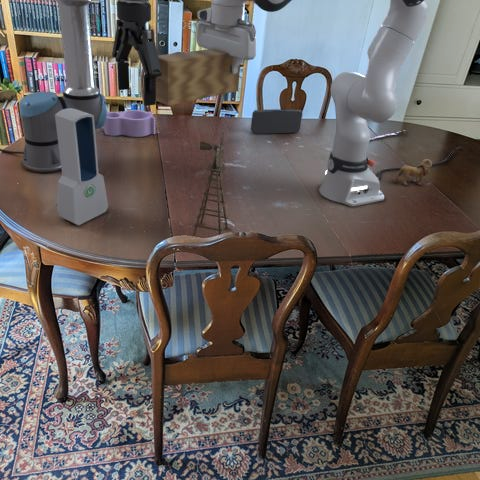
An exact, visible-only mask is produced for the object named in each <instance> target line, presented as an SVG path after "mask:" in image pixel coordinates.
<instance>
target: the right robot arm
mask: <svg viewBox="0 0 480 480" xmlns="http://www.w3.org/2000/svg"><path fill="white" fill-rule="evenodd" d="M292 1H293V0H211V2H210V3H211V4H210V6H211V7H208V8H203V9H200V10H198V11H197V19H198V21H197V24H196V35H195V36H196V39H195V40H196V44H197V46H198V47H199V48H203V49H205V50H208V49H216V50H219V51H223V52H226V53H229V55H230V56H233V61H234V63H233V65H232V66H230V73H233V74H236V73H237V72H238V66H239V65H240V66H241V63H242V62H243V61H251V60H254V59H255V58H256V56H257V27H255V25H254V24H253V22H251V21H247V20H245V7H246V2H252V3H253V4H254V5H256V6H257V7H259V8H260V9H261V10H262V11H264V12H268V13H275V12H278V11H281V10H283V8H285V7H286V6H288V4H290V2H292ZM429 12H430V8H429V4H428V2H427V0H389V8H388V12H387V14H386V16H385V18H384V20H383V21H382V23H381V25H380V26H379V28H378V30H377V32H376V34H375V36H374V37H373V39H372V40H371V43H370V45H368V48H367V51H366V57H367V60H368V66H367V70H366V73H365V76H364V75H362V74H360V73H359V72H351V71H344V72H341V73H339V74H337V75H336V76H335V78H334V79H333V81H332V82H331V85H330V95H331V98H332V100H333V103H334V110H335V134H334V140H333V145H332V150H331V151H330V153H329V157H328V161H327V170H325V173H324V175H325V176H324V178H323V181H322V183H321V185H320V187H319V188H318V191H319V193H320V195H321V196H323V198H326V199H327V200H330V201H332V202H336V203H340V204H343V205H346V206H349V207H357V206H363V205H368V204H373V203H378V202H382V201H384V200H385V195H384V193H383V191H382V190H380V186H381V183H380V178H381V174H382V173H384V172H389V171H390V172H391V171H399V170H400V169H401V168H402V167H403V166H400V167H399V166H398V167H389V168H383V169H381V170H379V171H378V173H377V175H375V173H374V172H373V170H372V169H370V168H373V167H374V166H375V165H376V162H375V161H374V160H373V159H369V157H368V156H367V153H368V149H369V145H370V142H371V141H370V138H372V137H371V131H370V129H369V126H368V122H371V123H376V124H383V123H385V122H387V121H388V120H389V119H391V118H392V117H393V115H394V114H395V113H396V110H397V107H398V97H397V93H396V90H397V89H396V88H397V87H396V85H397V81H398V77H399V74H400V71H401V68H402V66H403V64H404V62H405V61H406V59H407V57H408V55H409V53H410V52H411V50H412V48H413V46H414V45H415V43H416V42H417V39H418V38H419V35H420V34H421V32H422V30H423V28H424V25H425V22H426V21H427V18H428V15H429ZM459 148H462V147H461V146H458V147H456V149H459ZM459 150H460V151H463V148H462V149H459ZM453 151H454V150H453ZM453 151H451V152H450V153H449V155H448V156H447V157H446V158H445V159H442V160H440V161H437V162H434V163H433V162H432V167H433V166H438V165H441V164H443V163H445V162H447V161H448V160H449V159H451V157H452V156H453V154H455V153H456V152H457V151H454V152H453ZM452 152H453V153H452ZM451 153H452V154H451ZM450 154H451V156H450ZM449 156H450V157H449ZM448 157H449V158H448ZM447 158H448V159H447ZM409 166H410V167H418V166H419V165H409ZM369 167H370V168H369Z"/></svg>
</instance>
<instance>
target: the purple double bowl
mask: <svg viewBox="0 0 480 480" xmlns="http://www.w3.org/2000/svg"><path fill="white" fill-rule="evenodd" d="M103 131H104V135H107V136H112V137H114V136H127V137H133V138H140V137H141V138H143V137H147V136H149V135H156V116H154V115H153V111H146V110H142V109H141V110H140V109H128V110H124V111H107V119H106V122H105V124H104V126H103Z"/></svg>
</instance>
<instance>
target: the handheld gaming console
mask: <svg viewBox="0 0 480 480" xmlns="http://www.w3.org/2000/svg"><path fill="white" fill-rule="evenodd" d="M302 118H303V111H302V110H301V109H291V108H290V109H289V108H287V109H284V108H283V109H282V108H281V109H280V108H279V109H278V108H277V109H275V108H274V109H255V110H253V112H252V114H251V122H250V131H251V133H253V134H255V135H261V134H262V135H263V134H293V133H299V132H300V131H301V127H302V125H301V124H302Z"/></svg>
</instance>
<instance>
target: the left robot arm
mask: <svg viewBox="0 0 480 480" xmlns="http://www.w3.org/2000/svg"><path fill="white" fill-rule="evenodd" d="M54 1H55V2H56V3H57V7H58V15H59V16H58V17H59V25H60V33H61V34H60V35H61V43H62V52H63V53H62V54H63V61H64V70H65V79H66V80H65V81H66V85H65V86H64V87H63V88H62V96H61V95H60V96H58V94H57V93H56V92H54V91H36V92H32V93H28V94H26V95H25V96H23V97H22V98H21V99H20V100H19V103H18V104H19V116H20V119H21V125H22V132H23V136H24V148H23V151H13V150H12V151H11V150H5V149H2V148H0V152H3V153H6V154H15V155H16V154H19V155H22V158H21V159H22V160H21V161H22V166H23V168H24V169H25V170H27V171H29V172H33V173H39V174H46V173H56V172H61V171H62V168H61V161H60V153H59V145H58V137H57V129H56V121H55V114H56V113H58V112H59V111H61V110H63V109H67V108H73V109H77V110H80V111H82V112H85V113H88V114H91V115H94V123H95V130H99V129H100V130H101V129H102V128H104V124H105V122H106V119H107V112H108V104H107V99H106V97H105V96H104V94H103V93H100V92H101V91H100V89H99V88H98V86H97V85H95V77H94V63H93V52H92V38H91V27H90V24H91V23H90V12H89V5H90V3H91V2H92V1H93V0H54ZM149 1H150V0H117V1H116V18H117V19H116V21H115V22H116V23H115V25H116V30H115V34H114V40H113V46H112V51H111V56H112V58H113V59H114V58H115V62H117V63H116V67H117V87H118V88H117V89H118V90H119V91H127V90H130V64H129V63H130V59H129V56H130V54H131V51H132V48H133V49H134V50H135V51H136V52H137V54H138V58H139V61H140V63H141V66H142V69H143V72H144V75H143V76H142V78H143V106H145V107H149V106H150V107H151V106H156V105H157V101H156V77H158V76H161V75H162V72H161V68H160V63H159V59H158V50H157V45H156V39H155V30H154V28H153V29H148V28H147V23H148V22H151V21H152V5H151V3H150V2H149ZM156 70H157V71H156Z"/></svg>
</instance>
